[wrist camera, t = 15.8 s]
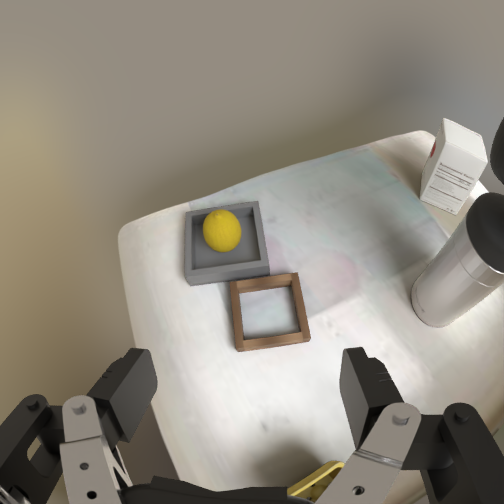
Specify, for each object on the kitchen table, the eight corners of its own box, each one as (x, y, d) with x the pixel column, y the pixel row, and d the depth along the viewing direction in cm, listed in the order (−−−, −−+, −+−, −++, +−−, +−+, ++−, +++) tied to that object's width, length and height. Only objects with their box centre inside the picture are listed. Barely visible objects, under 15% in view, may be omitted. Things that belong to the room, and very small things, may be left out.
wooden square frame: (296, 278, 42) (297, 272, 41) (309, 341, 37) (310, 337, 35) (231, 288, 42) (229, 282, 41) (238, 351, 37) (236, 348, 36)
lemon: (204, 240, 47) (192, 208, 40) (236, 227, 47) (229, 193, 41) (216, 267, 44) (204, 237, 37) (249, 253, 45) (243, 221, 38)
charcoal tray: (259, 212, 49) (258, 201, 47) (269, 275, 43) (269, 265, 40) (190, 223, 49) (185, 212, 47) (190, 286, 43) (185, 277, 40)
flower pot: (270, 486, 27) (267, 507, 19) (327, 449, 29) (341, 460, 22) (308, 528, 23) (316, 555, 15) (364, 491, 25) (386, 509, 17)
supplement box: (421, 172, 52) (442, 115, 40) (456, 187, 50) (482, 134, 37) (418, 200, 48) (444, 139, 36) (456, 217, 46) (489, 161, 33)
